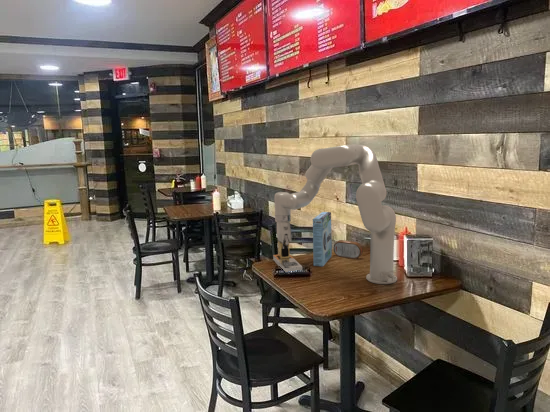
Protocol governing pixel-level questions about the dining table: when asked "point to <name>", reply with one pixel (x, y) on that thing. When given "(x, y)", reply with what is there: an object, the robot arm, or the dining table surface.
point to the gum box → (322, 239)
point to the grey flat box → (287, 263)
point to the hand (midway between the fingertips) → (283, 254)
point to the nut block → (281, 251)
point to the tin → (348, 249)
